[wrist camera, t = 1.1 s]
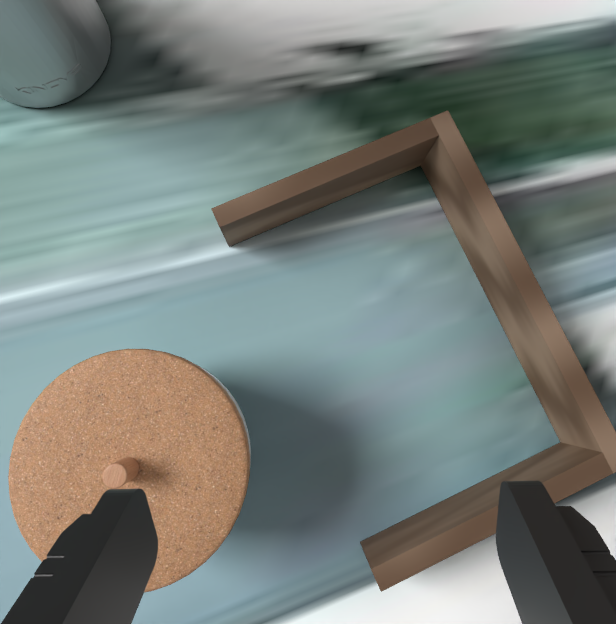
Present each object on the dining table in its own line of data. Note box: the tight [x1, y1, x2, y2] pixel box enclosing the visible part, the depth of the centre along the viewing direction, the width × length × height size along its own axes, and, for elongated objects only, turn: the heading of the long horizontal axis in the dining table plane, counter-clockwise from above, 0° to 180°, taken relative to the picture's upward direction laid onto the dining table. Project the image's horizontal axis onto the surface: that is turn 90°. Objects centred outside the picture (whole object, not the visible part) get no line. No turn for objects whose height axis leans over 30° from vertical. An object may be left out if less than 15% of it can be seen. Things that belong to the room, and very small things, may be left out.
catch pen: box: [212, 111, 616, 592], centre depth 28 cm, size 22×15×4 cm
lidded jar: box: [8, 349, 251, 592], centre depth 24 cm, size 11×11×9 cm
